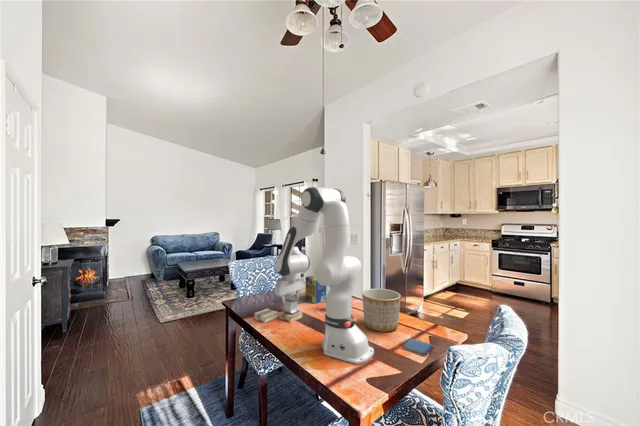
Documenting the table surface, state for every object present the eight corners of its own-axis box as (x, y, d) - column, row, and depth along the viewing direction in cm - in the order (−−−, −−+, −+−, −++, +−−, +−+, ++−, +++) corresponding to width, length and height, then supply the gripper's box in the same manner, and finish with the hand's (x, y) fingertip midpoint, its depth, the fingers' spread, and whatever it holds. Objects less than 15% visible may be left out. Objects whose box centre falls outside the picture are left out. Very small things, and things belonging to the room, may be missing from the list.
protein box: (305, 300, 181) (305, 276, 181) (322, 295, 192) (322, 273, 191) (315, 304, 173) (315, 279, 173) (332, 298, 184) (332, 275, 184)
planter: (371, 315, 155) (371, 286, 155) (405, 323, 144) (405, 292, 144) (355, 327, 139) (355, 295, 139) (392, 337, 128) (392, 302, 128)
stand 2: (302, 317, 152) (302, 311, 152) (290, 322, 145) (290, 316, 145) (290, 313, 158) (290, 308, 158) (279, 318, 151) (279, 312, 151)
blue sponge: (410, 341, 126) (410, 336, 126) (434, 348, 119) (434, 344, 119) (400, 349, 118) (400, 345, 118) (425, 358, 111) (425, 353, 111)
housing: (299, 312, 151) (299, 298, 151) (292, 315, 147) (292, 300, 147) (289, 309, 156) (289, 295, 156) (282, 311, 152) (282, 297, 152)
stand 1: (277, 317, 151) (277, 312, 151) (265, 322, 144) (265, 317, 144) (267, 313, 157) (267, 308, 157) (254, 318, 150) (254, 312, 150)
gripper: (280, 280, 141) (280, 306, 141) (307, 273, 157) (306, 296, 157) (272, 277, 145) (272, 303, 145) (299, 271, 161) (298, 294, 161)
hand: (290, 300), depth 151 cm, fingers open, 8 cm apart
